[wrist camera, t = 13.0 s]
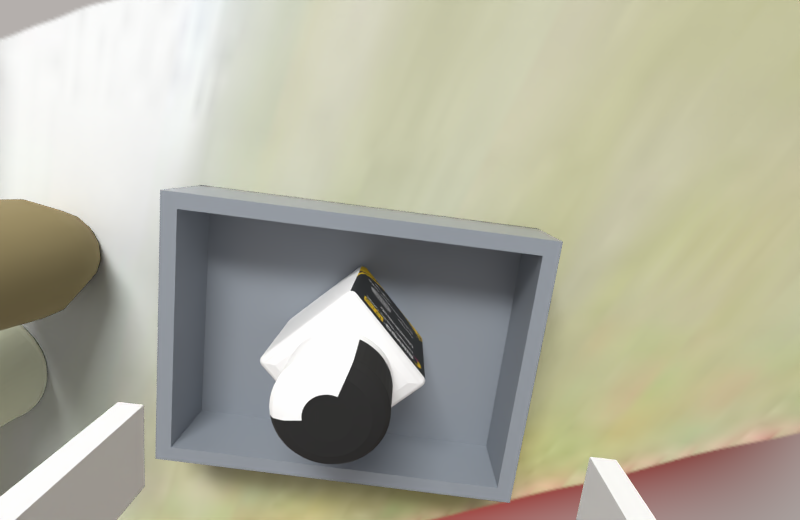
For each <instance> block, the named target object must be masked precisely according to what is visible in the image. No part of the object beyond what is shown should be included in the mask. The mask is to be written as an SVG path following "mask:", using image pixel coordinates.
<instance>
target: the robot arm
mask: <svg viewBox="0 0 800 520" xmlns="http://www.w3.org/2000/svg"><path fill="white" fill-rule="evenodd" d="M144 487H145V471H144V405H140V404H132V403H123V402H117V403H116V404H115V405H114V406H112V407H111V408H110V409H109V410H107V411H106V412H105V413H104V414H102V415H101V416H100V417H99V418H97V419H96V420H95V421H94V422H92V423H91V424H90V425H89V426H87V427H86V428H85V429H84V430H83V431H81V432H80V433H79V434H78V435H76V436H75V437H74V438H73V439H71V440H70V441H69V442H68V443H66V444H65V445H64V446H63V447H61V448H60V449H59V450H58V451H56V452H55V453H54V454H53V455H51V456H50V457H49V458H48V459H46V460H45V461H44V462H43V463H42V464H40V465H39V466H38V467H37V468H35V469H34V470H33V471H32V472H30V473H29V474H28V475H27V476H25V477H24V478H23V479H22V480H20V481H19V482H18V483H17V484H15V485H14V486H13V487H12V488H10V489H9V490H8V491H7V492H5V493H4V494H3V495H2V496H1V497H0V520H117V519H118V518H119V517H120V515H121V514H122V513H123V512H124V511H125V509H126V508H127V507H128V506H129V505H130V503H131V502H132V501H133V500H134V499H135V497H136V496H137V495H138V494H139V493H140V491H141V490H142V489H143V488H144ZM576 520H656V519H655V517H654V516H653V514H652V513H651V511H650V510H649V508H648V507H647V505H646V504H645V502H644V501H643V499H642V498H641V496H640V495H639V493H638V492H637V490H636V489H635V487H634V486H633V484H632V483H631V481H630V480H629V478H628V477H627V475H626V474H625V472H624V471H623V469H622V468H621V466H620V465H619V463H618V462H617V460H613V459H604V458H595V457H590V458H589V463H588V468H587V472H586V477H585V481H584V486H583V491H582V495H581V500H580V505H579V510H578V513H577V518H576Z"/></svg>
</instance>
